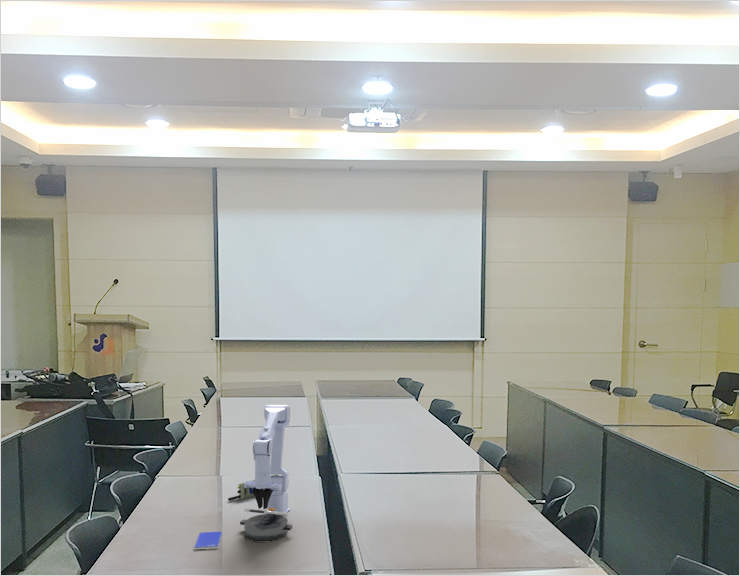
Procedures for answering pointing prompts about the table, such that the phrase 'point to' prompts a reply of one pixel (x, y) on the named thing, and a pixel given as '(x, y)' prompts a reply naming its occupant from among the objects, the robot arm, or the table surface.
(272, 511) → the lid
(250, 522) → the cooker pot
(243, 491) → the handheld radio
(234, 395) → the table surface
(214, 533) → the hard drive
